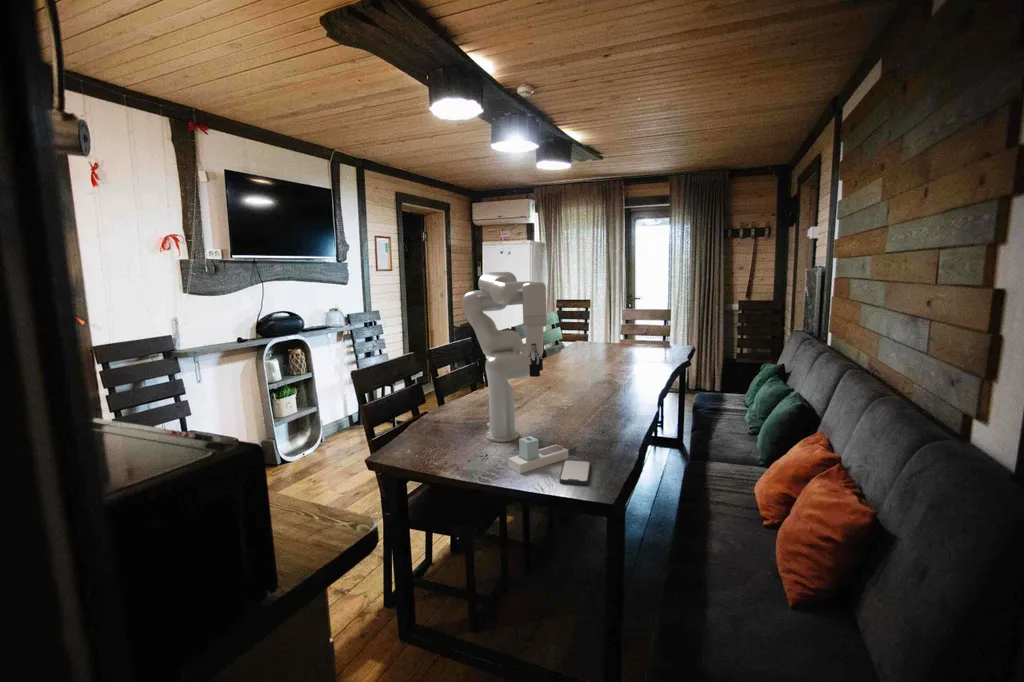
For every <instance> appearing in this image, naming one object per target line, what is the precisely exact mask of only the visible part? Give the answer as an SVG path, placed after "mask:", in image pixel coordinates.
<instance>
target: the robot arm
mask: <svg viewBox="0 0 1024 682" xmlns="http://www.w3.org/2000/svg"><path fill="white" fill-rule="evenodd" d="M462 297H463V298H462V310H463V313H464V316H465V318H466V320H467V321H468V323H469V325H470V326H471V327H472V329H473V331H474V333H475V336H476V339H477V341H478V343H479V346H480V348H481V350H482V354H484V355H485V356H487V357H488V358H487V360H486V361H485V365H484V366H485V368H484V369H485V374H486V380H487V386H488V409H489V410H488V411H489V412H488V414H489V422H488V423H487V424H486V425H487V427H489V430H488V431H487V432H486V433H485V438H486V439H487V440H489V441H492V442H498V443H507V442H511V441H514V440H517V439H518V438H519V437H520V433H519V431H518V430H516V427H515V426H516V425H515V424H516V422H515V421H516V420H515V417H516V416H515V391H514V388H513V387H512V385H511V384H510V383H509V380H513V379H514V380H515V379H520V378H525V377H528V376H529V377H531V378H537V377H538V378H539V377H540V376H541V371H543V369H544V364H543V363H544V362H543V353H544V327H545V326H547V324H548V323H547V322H548V321H547V320H548V318H547V316H548V315H547V288H546V284H545V283H544V282H542V281H528V280H526V281H517V277H516V276H515V274H514V273H512V272H510V271H497V272H496V271H494V272H493V271H491V272H485V273H483V274H482V275H481V276H480V277H479V279H478V290H477V289H476V290H472V291H469V292H467V293H465V294H464V296H462ZM517 305H522V322H523V323H522V325H523V326H524V327H526V328H525V345H524V342H523V340H522V339H523V338H521V336H520V334H519V333H518V332H516V331H515V330H499V329H498V327H497V325H496V323H495V321H494V320H493V319H492V318H491V317H490V316H489V315H487V314H486V313H485V312H497V311H502V310H504V309H505V308H506V307H507V306H517ZM506 441H507V442H506Z"/></svg>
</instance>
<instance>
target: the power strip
mask: <svg viewBox="0 0 1024 682" xmlns="http://www.w3.org/2000/svg"><path fill="white" fill-rule="evenodd" d="M575 451H577V448H576V447H572V448H564V446H563V445H560V444H553V445H550V446H549V445H548V446H546V447H543V448H539V458H538V459H535V460H531V461H528V462H527V461H525V460H523V459H521V458H519V454H517V455H514V456H510V457H509V458H507V459H508V460H507V461H508V462H507V464H508V465H507V467H508V468H509V467H510V468H509V469H511V470H513V471H514V470H515V471H514V472H516V471H517V472H516V473H518V474H520V473H521V474H523V473H526V472H529V471H530V472H531V471H533V470H537V469H539V468H543V467H546V466H549V465H552V464H551V463H553V464H555V462H556V463H558V461H559V462H561V460H562V461H565V460H568V459H569V453H572V452H575ZM567 458H568V459H567ZM564 459H565V460H564ZM548 464H549V465H548ZM545 465H546V466H545ZM536 468H537V469H536Z"/></svg>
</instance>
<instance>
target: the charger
mask: <svg viewBox="0 0 1024 682" xmlns="http://www.w3.org/2000/svg"><path fill="white" fill-rule="evenodd" d="M539 446H540V445H539V438H538V439H537V438H536V437H534V436H531V435H529V436H525V437H521V438H519V439H518V448H519V453H518V455H519V458H521V459H523V460H525V461H527V462H528V461H531V460H535V459H538V458H539V449H540V448H539Z"/></svg>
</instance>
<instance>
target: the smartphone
mask: <svg viewBox="0 0 1024 682" xmlns="http://www.w3.org/2000/svg"><path fill="white" fill-rule="evenodd" d="M591 464H592V463H591V462H590V461H586V460H584V461H583V460H571V459H565V460H563V464H562V466H561V467H562V468H561V472H560V475H559V483H560V484H561V485H571V484H572V485H574V486H588V485H589V481H590V478H591V477H590V475H591V474H590V473H591V467H590V466H592V465H591ZM572 485H571V486H572Z"/></svg>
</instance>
